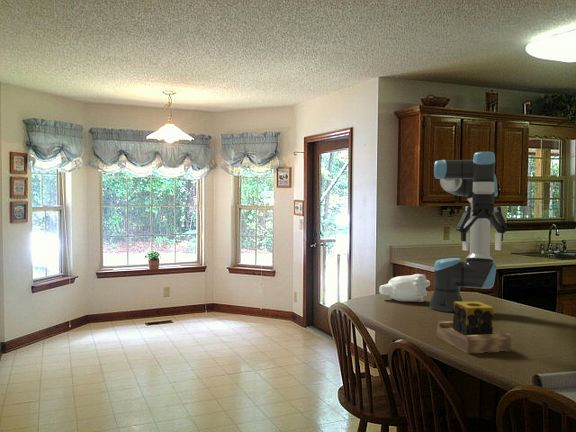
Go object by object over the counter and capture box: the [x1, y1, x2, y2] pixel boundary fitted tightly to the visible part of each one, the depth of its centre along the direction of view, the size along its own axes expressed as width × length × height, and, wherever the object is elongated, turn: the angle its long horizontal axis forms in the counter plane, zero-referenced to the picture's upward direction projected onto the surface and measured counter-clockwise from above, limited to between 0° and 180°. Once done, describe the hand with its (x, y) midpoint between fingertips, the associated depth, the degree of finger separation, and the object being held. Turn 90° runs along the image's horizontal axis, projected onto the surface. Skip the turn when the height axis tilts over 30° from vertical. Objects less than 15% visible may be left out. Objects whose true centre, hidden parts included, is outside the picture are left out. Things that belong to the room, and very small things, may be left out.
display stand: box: [436, 320, 512, 355], centre depth 174 cm, size 16×20×6 cm
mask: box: [378, 273, 431, 303], centre depth 247 cm, size 14×14×25 cm
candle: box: [452, 300, 494, 335], centre depth 174 cm, size 10×10×10 cm
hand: (481, 250), depth 186 cm, fingers open, 13 cm apart
